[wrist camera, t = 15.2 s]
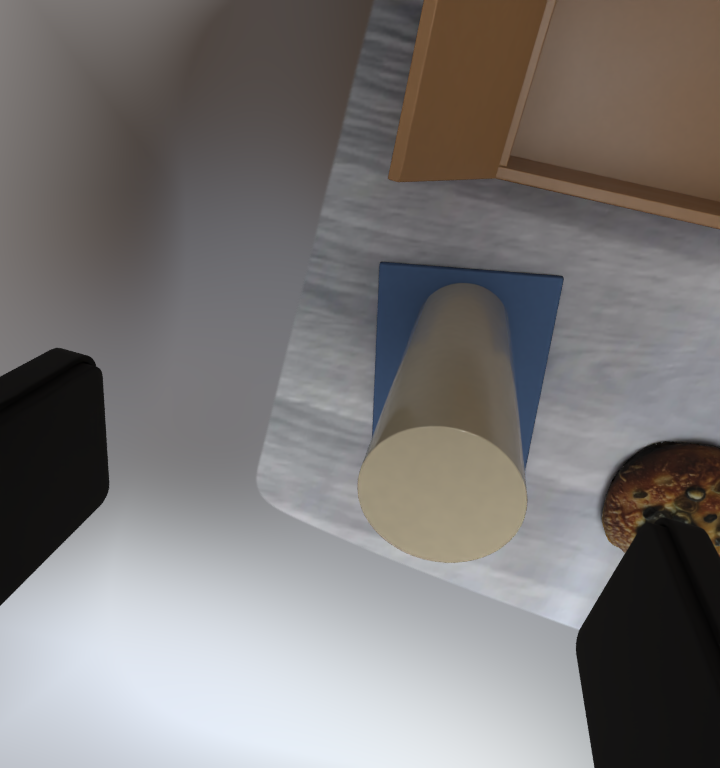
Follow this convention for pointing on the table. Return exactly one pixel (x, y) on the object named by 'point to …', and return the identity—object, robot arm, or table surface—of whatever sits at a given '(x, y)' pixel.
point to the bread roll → (665, 491)
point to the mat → (517, 293)
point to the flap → (463, 88)
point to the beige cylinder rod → (449, 435)
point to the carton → (623, 107)
